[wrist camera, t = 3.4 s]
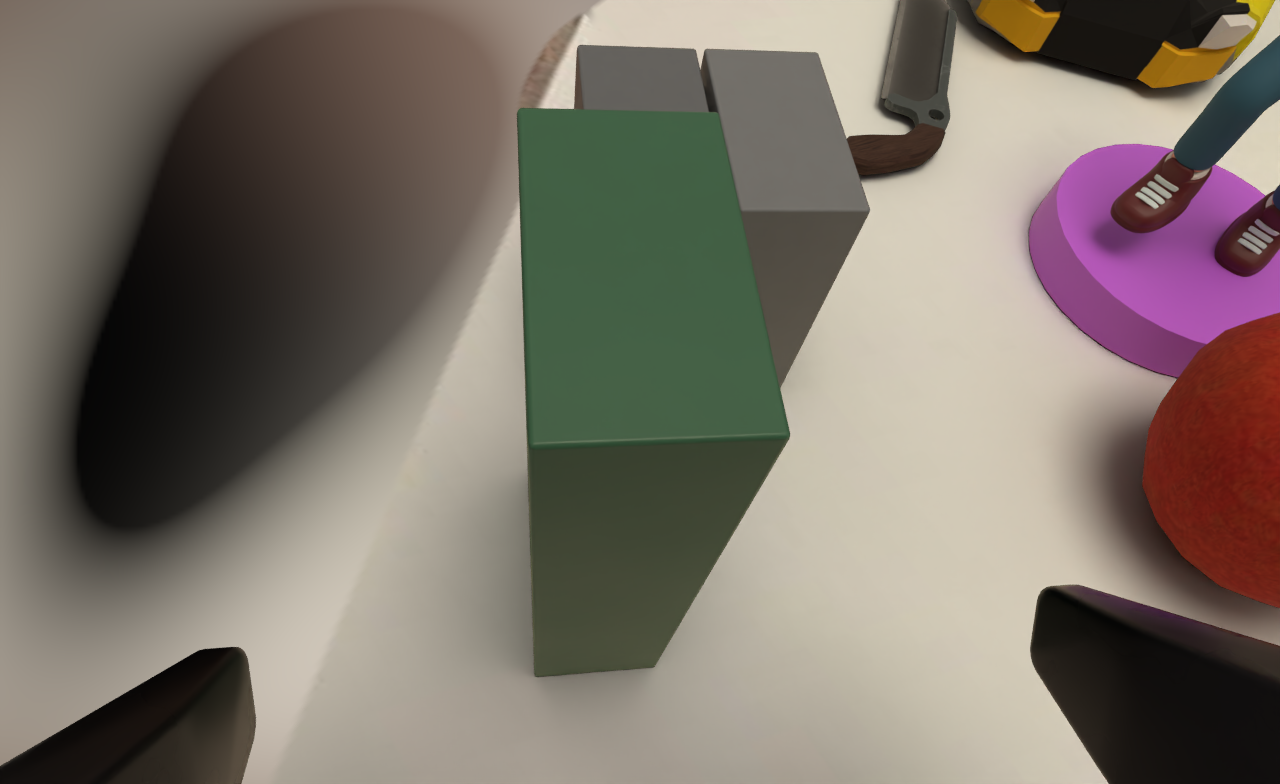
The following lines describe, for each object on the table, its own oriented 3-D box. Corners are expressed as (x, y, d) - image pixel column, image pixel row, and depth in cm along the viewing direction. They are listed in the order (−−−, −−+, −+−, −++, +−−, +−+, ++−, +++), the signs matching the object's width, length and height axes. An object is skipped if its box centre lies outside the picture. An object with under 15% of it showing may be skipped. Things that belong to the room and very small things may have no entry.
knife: (934, 199, 29) (942, 185, 29) (831, 169, 29) (837, 155, 29) (961, -6, 36) (967, -20, 36) (877, -29, 37) (883, -43, 36)
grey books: (778, 393, 24) (871, 210, 17) (577, 400, 23) (592, 210, 16) (747, 256, 27) (818, 51, 20) (567, 257, 26) (576, 43, 19)
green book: (655, 667, 20) (793, 437, 9) (534, 677, 19) (528, 448, 9) (634, 468, 22) (720, 110, 12) (527, 472, 22) (516, 105, 11)
